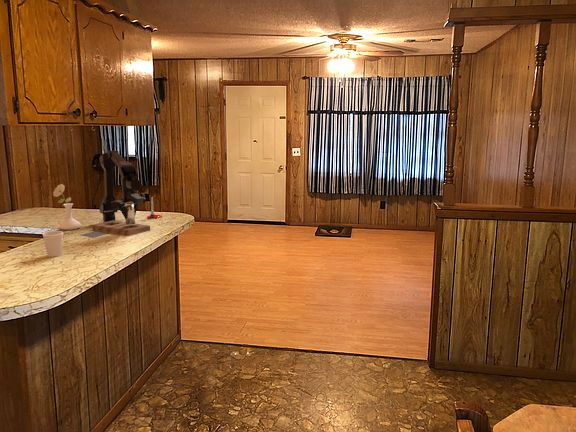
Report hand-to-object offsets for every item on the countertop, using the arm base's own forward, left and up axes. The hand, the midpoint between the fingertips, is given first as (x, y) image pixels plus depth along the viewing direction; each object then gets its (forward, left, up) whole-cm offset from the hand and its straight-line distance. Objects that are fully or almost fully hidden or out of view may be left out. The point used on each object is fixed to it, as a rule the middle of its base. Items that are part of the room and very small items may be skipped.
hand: (129, 218), depth 254 cm
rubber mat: (-11, -14, -8) cm, 19 cm away
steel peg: (0, 0, -3) cm, 3 cm away
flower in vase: (-34, -12, -8) cm, 37 cm away
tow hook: (-18, +36, -8) cm, 41 cm away
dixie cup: (+5, -48, -8) cm, 49 cm away
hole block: (-7, 0, -8) cm, 10 cm away
